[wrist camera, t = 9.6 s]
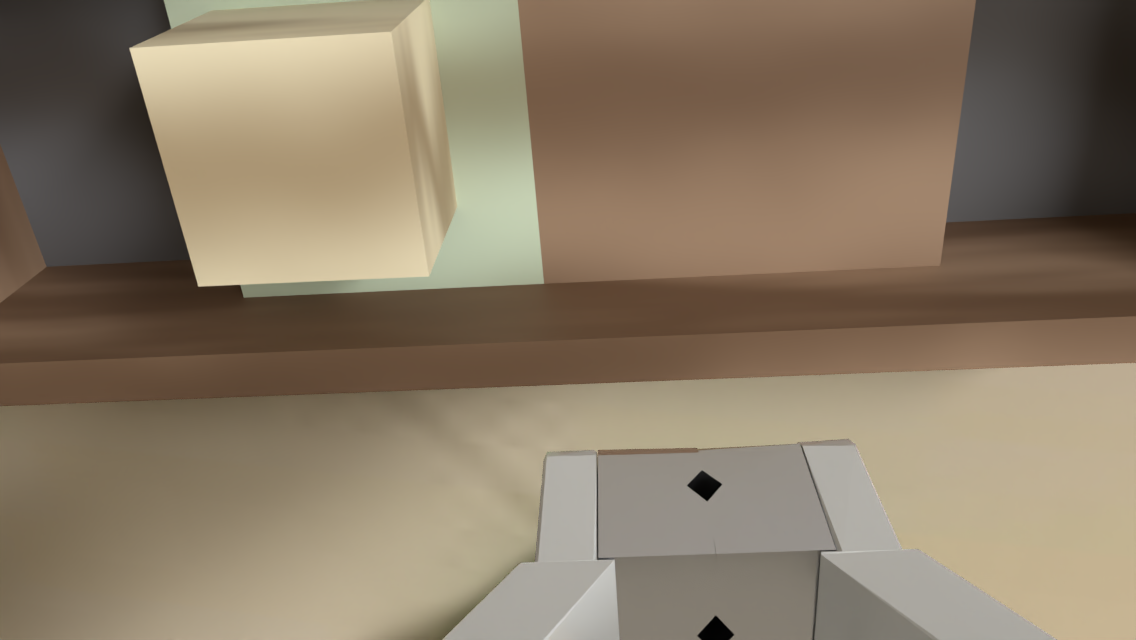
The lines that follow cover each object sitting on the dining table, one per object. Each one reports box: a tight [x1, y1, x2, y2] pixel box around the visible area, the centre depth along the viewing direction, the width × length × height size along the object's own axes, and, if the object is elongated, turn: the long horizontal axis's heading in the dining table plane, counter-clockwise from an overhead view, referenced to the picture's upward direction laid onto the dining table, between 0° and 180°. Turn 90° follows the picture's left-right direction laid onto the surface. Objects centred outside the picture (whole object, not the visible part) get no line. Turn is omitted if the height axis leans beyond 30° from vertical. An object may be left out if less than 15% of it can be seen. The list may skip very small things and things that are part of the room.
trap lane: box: [0, 0, 1136, 406], centre depth 21 cm, size 11×34×6 cm, turn 94°
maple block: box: [129, 0, 457, 287], centre depth 20 cm, size 5×5×4 cm
